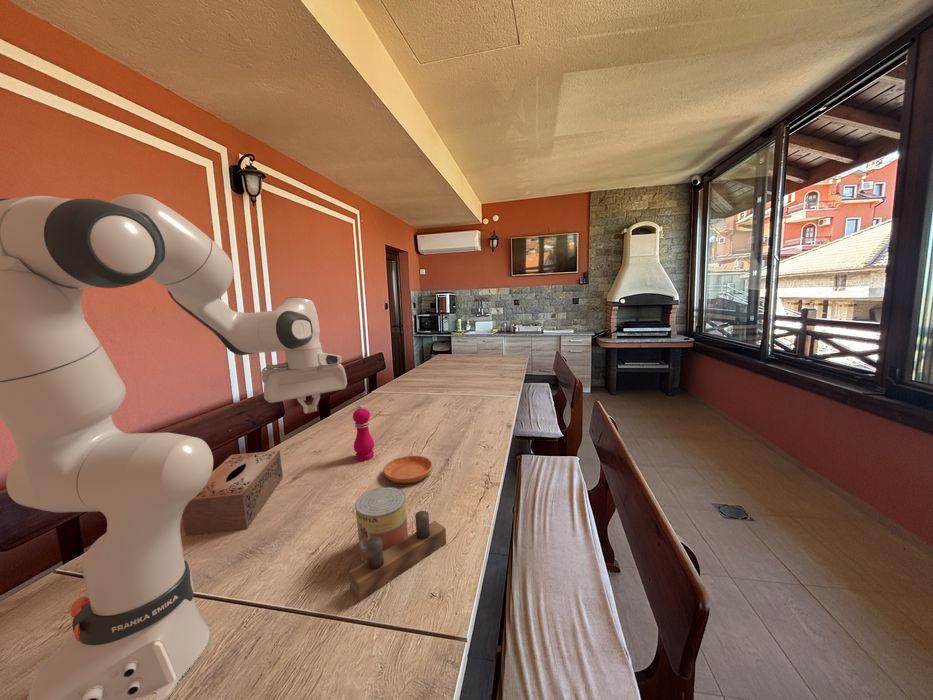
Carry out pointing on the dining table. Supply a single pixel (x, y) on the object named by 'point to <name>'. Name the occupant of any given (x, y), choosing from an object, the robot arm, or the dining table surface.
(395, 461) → the saucer
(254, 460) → the tissue box cover
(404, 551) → the bench stop
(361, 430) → the pepper mill
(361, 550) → the canned food
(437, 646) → the dining table surface
